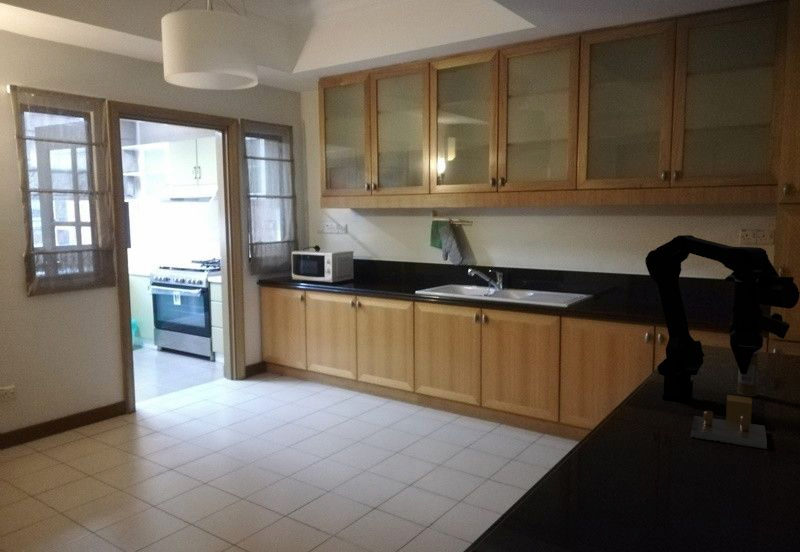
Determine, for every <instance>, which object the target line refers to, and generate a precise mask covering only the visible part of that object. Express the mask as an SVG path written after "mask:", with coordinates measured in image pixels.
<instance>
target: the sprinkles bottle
mask: <svg viewBox="0 0 800 552" xmlns="http://www.w3.org/2000/svg"><path fill="white" fill-rule="evenodd" d="M759 353H760V350H758V351H756V352H754V353H753V355H752V358H751V361H750V365H749V368H748V371H747V374H741V373H740V370H739V369H738V372H737V373H738V374H737V391H736V393H737V394H738V396H739V395H740V396H741V397H749V398H752V397H756V396H757V384H758V361H759V359H758V358H759V357H758V356H759Z"/></svg>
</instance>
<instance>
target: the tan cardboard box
mask: <svg viewBox="0 0 800 552" xmlns="http://www.w3.org/2000/svg"><path fill="white" fill-rule="evenodd" d="M726 396H727V397H726V411H725V412H726V414H725V415H726V416H725V420H728V421H735V422H740V416H742V415H744V416H748V417H750V422H749V424H752V412H753V411H752V409H753V400H752V399H753V398H752V397H748V396H742V395H740V396H739V395H731V394H727V395H726Z"/></svg>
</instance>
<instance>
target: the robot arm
mask: <svg viewBox="0 0 800 552" xmlns="http://www.w3.org/2000/svg"><path fill="white" fill-rule="evenodd" d="M690 254H691V255H694V256H697V257H702V258H705V259H709V260H712V261H716V262H718V263H721V265H723V267H725V268H726V269H729V270H730V271H732V272H731V273H730V275H727V276H726V277H725V278H724V281H725V282H731V283H732V282H733V285H732V286H733V289H732V304H731V321H730V322H729V324H728V325H729V326H728V327H729V328H728V333H729V335H728V336H729V345H730V348H731V351H732V354H733V356H734V359H735V362H736V365H737V367H738V370H740V373H741V374H747V371H748V368H749V365H750V361H751V358H752V355H753V353H754V352H756V351H758V350H759V351H760V350H761V349H762V348H763V347H764V338H763V335H762V334H761V333H763V331H765V332H768V333H769V334H772V335H775V336H776V337H778V338H780V339H785V337H786V335H787V333H788V331H789V329H790V327H791V324H790V323H788V322H787V321H784V319H783V315H782V314H780V313H777V312H774V313H773V314H771V315H769V314H765V313H764V311H763V308H762V306H767V307H774V308H780V309H781V308H782V309H788V310H789V309H790V310H791V309H793V308H794V307H796V306H797V304H798V302H799V299H800V291H799V288H798V286H797V284H796V283H795V282H794V276H780V275H779V273H778V272H777V270H776V269H775V267H774V266H773V264H772V262H771V260H770V259H769V255H768V253H767V251H766V250H765V249H764V248H762V247H753V246H732V245H727V244H723V243H719V242H715V241H712V240H707V239H704V238H700V237H695V236H694V235H691V234H689V235H688V234H685V235H684V234H682V235H680V234H679V235H676V236H675V237H673V238H672V239H670V241H667V242H666V243H664V244H662V245H660V246H657V247H656V248H655V249H653V250H650V251H649V252H648V253H647V255H646V257H645V259H644V260H645V261H644V262H645V267H646V269H647V272H648V274H649V276H650V277H651V279H652V280H653V281H654V282H655V283H656V285H657V287H658V292H659V297H660V301H661V306H662V310H663V314H664V315H663V316H664V318H665V324H666V330H667V333H668V340H667V344H666V347H665V358H664V359H663V360H662V361H661V362H660V363H659V364H658V365H657V371H658V375H660V376H662V377H663V394H662V397H661V399H663V400H668V401H677V402H684V403H690V402H691V400H692V399H693V396H694V383H695V382H694V380H692V376H697V375H698V374H699V370H700V369H701V367H702V365H703V364H704V357H705V353H704V352H703V346H702V341H701V340H695V339H694V338H693V337H692V336H691V334H690V330H689V325H688V321H687V316H686V312H685V307H684V302H683V298H682V293H681V288H680V285H679V278H680V275H681V272H682V263H683V262H684V261H685V260H687V259H688V258H689V256H690Z"/></svg>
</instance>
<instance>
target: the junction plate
mask: <svg viewBox="0 0 800 552" xmlns="http://www.w3.org/2000/svg"><path fill="white" fill-rule="evenodd" d="M713 416H714V412H713V411H712V410H704V411H703V416H698V415H694V416H693V419H692V424H691V429H690V438H692V437H695V438H694V439H698V438H699V439H700V440H704V439H705V441H711V440H713V442H717V441H720V443H724V442H725V444H730V443H732V444H731V445H738V446H745V447H750V448H758V449H764V450H767V449H768V440H767V433H766V426H765V425H763V424H762V425H761V424H756V423H755V424H754V423H751V424H749V422H750V417H748V416H744V415H742V416H740V422H735V421H728V420H726V419H720V418H719V419H718V418H714V417H713Z"/></svg>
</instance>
